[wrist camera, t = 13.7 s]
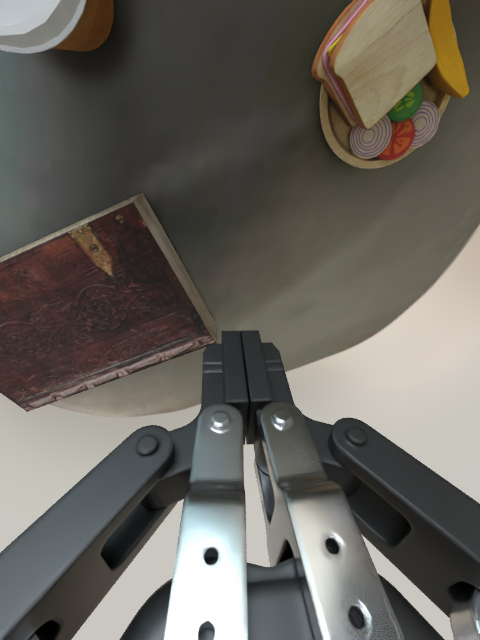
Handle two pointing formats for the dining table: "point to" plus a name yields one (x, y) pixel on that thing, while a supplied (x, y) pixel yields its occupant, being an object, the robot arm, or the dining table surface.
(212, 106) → the dining table surface
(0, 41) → the disposable coffee cup
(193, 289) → the hardback book
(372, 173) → the dining table surface
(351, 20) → the toy sandwich meal
